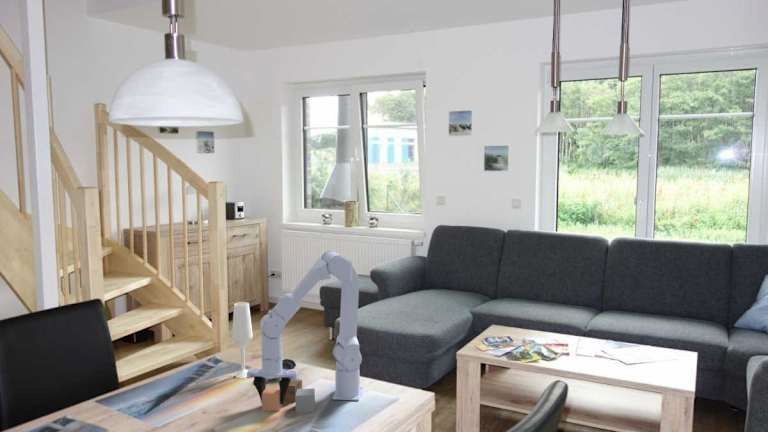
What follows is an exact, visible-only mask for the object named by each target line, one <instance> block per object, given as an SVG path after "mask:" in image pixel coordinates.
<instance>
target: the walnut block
mask: <svg viewBox="0 0 768 432" xmlns="http://www.w3.org/2000/svg"><path fill="white" fill-rule="evenodd" d="M297 389H303V379H299V378H297V380H293V379H291V381H290V383H289V386H288V388H287V392H286V395H285V402H291V403H292V402H293V403H296V402H295V395H296V392H297Z"/></svg>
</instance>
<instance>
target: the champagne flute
mask: <svg viewBox="0 0 768 432" xmlns="http://www.w3.org/2000/svg"><path fill="white" fill-rule="evenodd" d="M251 316H252V315H251V310H250V303H249V302H246V301H239V302H235V303H234V304H233V315H232V328H231V329H232V332H231V338H232V339H231V340H232V341H233V342H234V343H235V344H236V346H238V347H240V363H241V364H240V365H241V367H240V368H241V369H240V370H238V371H236V372H235V373H234V374H233V375H235V376H236V377H240V378H244V379H246V378H245V377H247V371H248V370H249V369H246V360H245V359H246V356H245V355H246V353H245V351H246V350H245V349H246V347H247V345H249V343H251V342H252V341H251V340H252V339H253V337H254V333H253V327H252V317H251Z"/></svg>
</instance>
